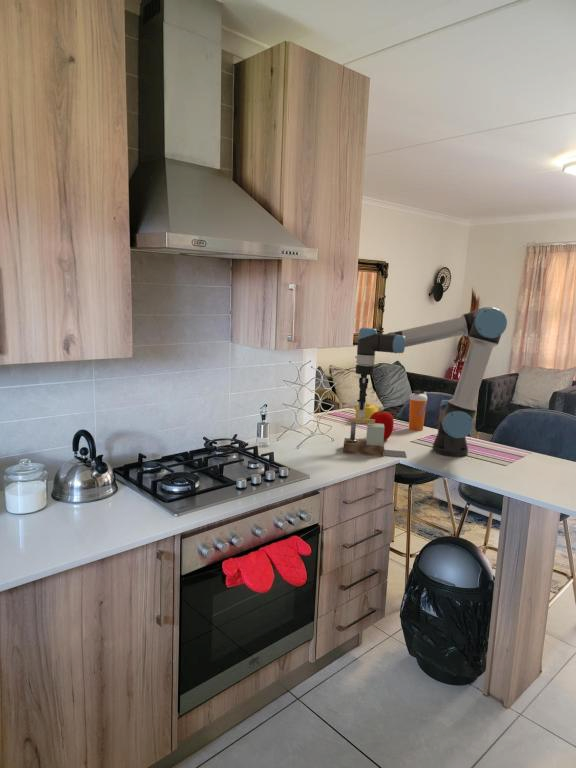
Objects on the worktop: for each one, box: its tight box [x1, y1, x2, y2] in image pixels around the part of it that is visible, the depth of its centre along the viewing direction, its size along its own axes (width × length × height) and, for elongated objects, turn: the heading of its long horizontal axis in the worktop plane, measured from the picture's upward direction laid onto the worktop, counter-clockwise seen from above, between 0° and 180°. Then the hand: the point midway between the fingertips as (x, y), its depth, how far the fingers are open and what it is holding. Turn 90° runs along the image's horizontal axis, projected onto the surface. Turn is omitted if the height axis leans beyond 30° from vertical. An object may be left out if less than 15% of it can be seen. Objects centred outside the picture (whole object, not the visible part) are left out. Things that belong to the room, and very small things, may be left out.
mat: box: [384, 449, 408, 459], centre depth 227 cm, size 9×9×1 cm
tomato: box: [370, 409, 394, 441], centre depth 250 cm, size 13×11×14 cm
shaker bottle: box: [408, 389, 428, 432], centre depth 274 cm, size 9×9×20 cm
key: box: [347, 417, 375, 442], centre depth 228 cm, size 11×4×10 cm, turn 82°
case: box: [343, 437, 385, 457], centre depth 229 cm, size 17×10×4 cm, turn 82°
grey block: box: [365, 423, 385, 446], centre depth 227 cm, size 7×7×8 cm
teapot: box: [354, 402, 384, 419], centre depth 287 cm, size 14×13×10 cm
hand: (360, 413), depth 227 cm, fingers open, 13 cm apart
